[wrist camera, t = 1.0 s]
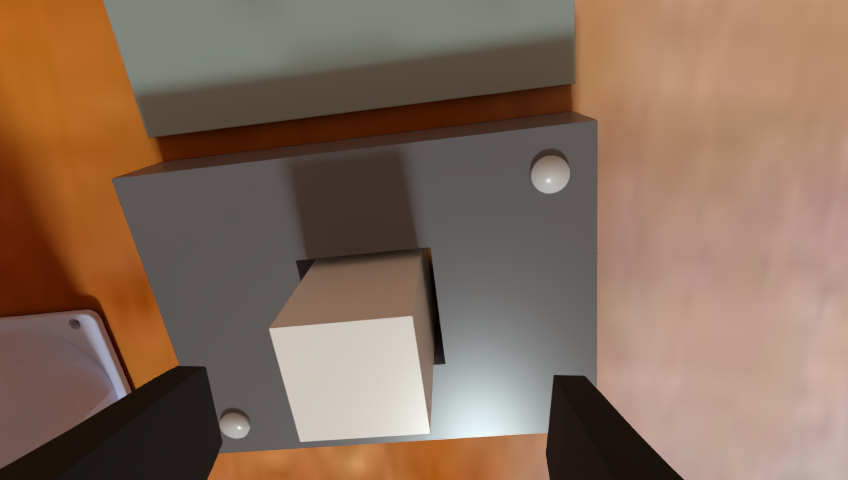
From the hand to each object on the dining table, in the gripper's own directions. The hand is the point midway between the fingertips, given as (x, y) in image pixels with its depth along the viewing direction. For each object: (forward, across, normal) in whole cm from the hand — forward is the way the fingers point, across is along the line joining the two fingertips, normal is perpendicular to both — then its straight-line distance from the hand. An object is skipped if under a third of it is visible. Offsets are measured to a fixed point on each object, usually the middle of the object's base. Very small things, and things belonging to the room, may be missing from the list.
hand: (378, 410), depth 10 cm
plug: (+10, +1, +2) cm, 10 cm away
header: (+10, +1, +2) cm, 10 cm away
